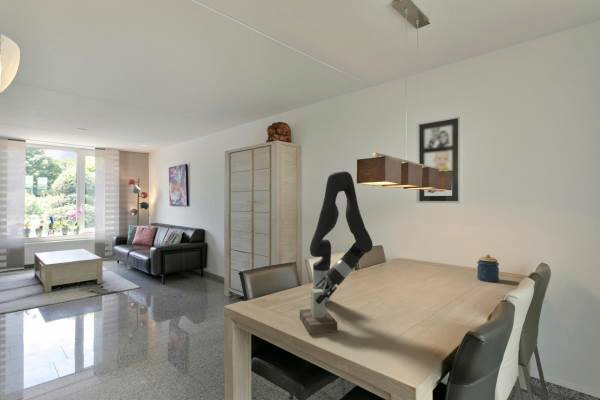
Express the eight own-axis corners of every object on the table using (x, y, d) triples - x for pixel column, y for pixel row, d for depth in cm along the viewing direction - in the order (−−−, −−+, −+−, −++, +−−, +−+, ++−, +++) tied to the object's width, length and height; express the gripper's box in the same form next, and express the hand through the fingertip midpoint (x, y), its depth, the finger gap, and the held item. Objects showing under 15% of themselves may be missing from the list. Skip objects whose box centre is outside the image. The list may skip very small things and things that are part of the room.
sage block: (310, 314, 137) (310, 289, 138) (321, 313, 139) (321, 288, 139) (313, 318, 133) (313, 292, 133) (324, 317, 134) (324, 291, 134)
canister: (479, 281, 208) (479, 255, 209) (475, 277, 221) (475, 252, 221) (502, 283, 205) (501, 256, 205) (495, 278, 217) (495, 253, 217)
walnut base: (299, 318, 143) (299, 309, 143) (324, 316, 146) (324, 307, 146) (309, 334, 125) (309, 324, 125) (337, 331, 128) (337, 322, 128)
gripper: (328, 263, 144) (304, 289, 142) (339, 269, 130) (312, 298, 128) (339, 274, 145) (316, 300, 143) (350, 281, 131) (325, 310, 129)
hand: (314, 299), depth 135 cm, fingers open, 8 cm apart
